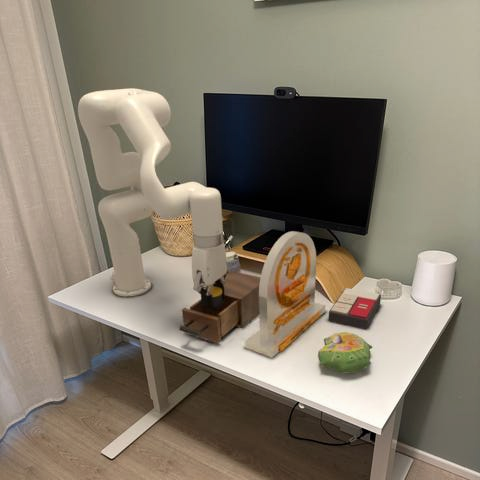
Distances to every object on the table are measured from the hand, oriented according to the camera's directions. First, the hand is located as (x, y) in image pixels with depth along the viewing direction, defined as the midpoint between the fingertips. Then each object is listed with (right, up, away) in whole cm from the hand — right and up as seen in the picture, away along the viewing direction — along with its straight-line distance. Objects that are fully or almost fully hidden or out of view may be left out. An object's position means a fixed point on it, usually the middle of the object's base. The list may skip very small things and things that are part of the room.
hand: (213, 301), depth 123 cm
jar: (0, -1, 0) cm, 1 cm away
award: (+21, -8, +2) cm, 22 cm away
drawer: (-1, -8, +2) cm, 8 cm away
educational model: (+33, -15, -12) cm, 38 cm away
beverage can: (+5, +6, +27) cm, 28 cm away
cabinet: (+6, -2, +12) cm, 14 cm away
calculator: (+41, -3, +9) cm, 42 cm away
